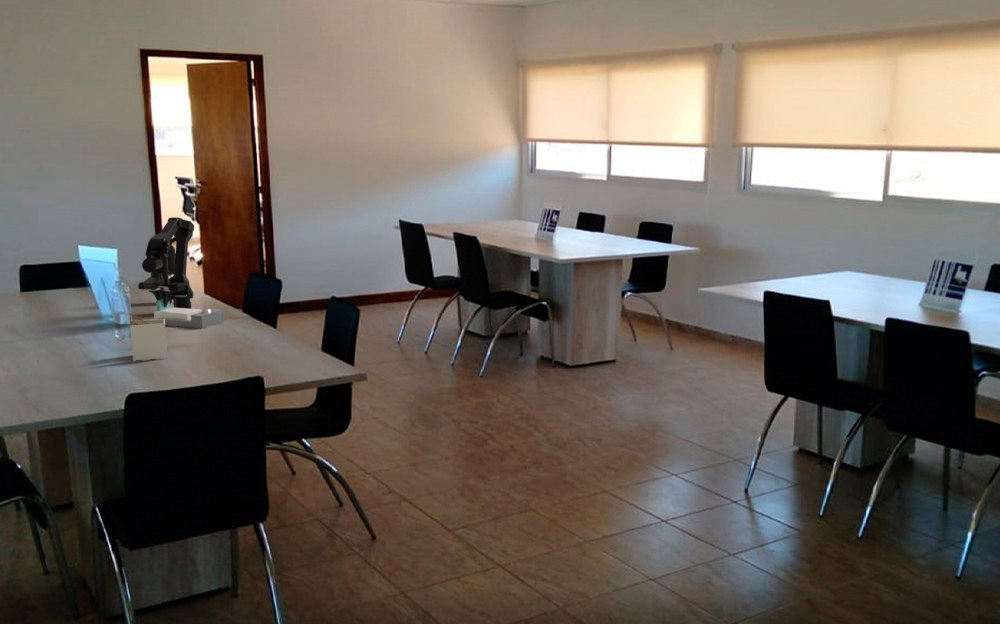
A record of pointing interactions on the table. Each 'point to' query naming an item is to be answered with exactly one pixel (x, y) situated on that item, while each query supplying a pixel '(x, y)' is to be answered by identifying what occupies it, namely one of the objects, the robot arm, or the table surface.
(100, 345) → the table surface
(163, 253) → the robot arm
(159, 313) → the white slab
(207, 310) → the release plunger
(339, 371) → the table surface
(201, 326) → the filter housing
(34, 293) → the table surface
